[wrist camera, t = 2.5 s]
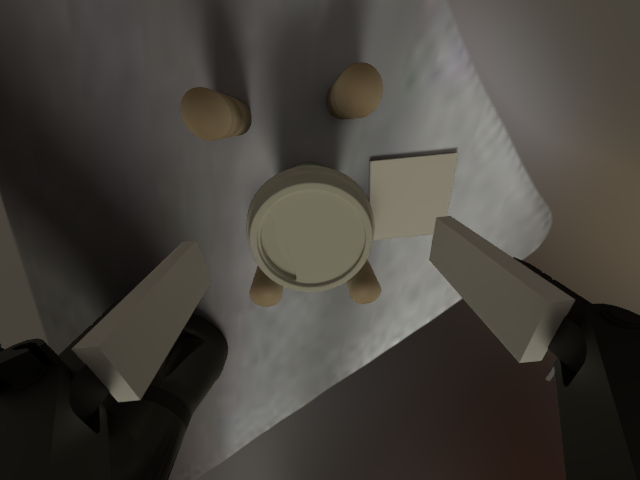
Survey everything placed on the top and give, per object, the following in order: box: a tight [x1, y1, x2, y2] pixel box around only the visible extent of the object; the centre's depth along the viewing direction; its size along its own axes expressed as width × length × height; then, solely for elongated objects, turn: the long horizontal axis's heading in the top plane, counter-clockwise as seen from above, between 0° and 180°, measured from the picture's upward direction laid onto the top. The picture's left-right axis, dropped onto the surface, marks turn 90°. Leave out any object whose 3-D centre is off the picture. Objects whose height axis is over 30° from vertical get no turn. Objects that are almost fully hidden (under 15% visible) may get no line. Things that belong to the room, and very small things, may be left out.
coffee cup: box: [246, 163, 375, 292], centre depth 19 cm, size 8×9×12 cm
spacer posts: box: [180, 62, 383, 307], centre depth 22 cm, size 14×20×7 cm
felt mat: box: [369, 153, 458, 240], centre depth 25 cm, size 9×9×1 cm
